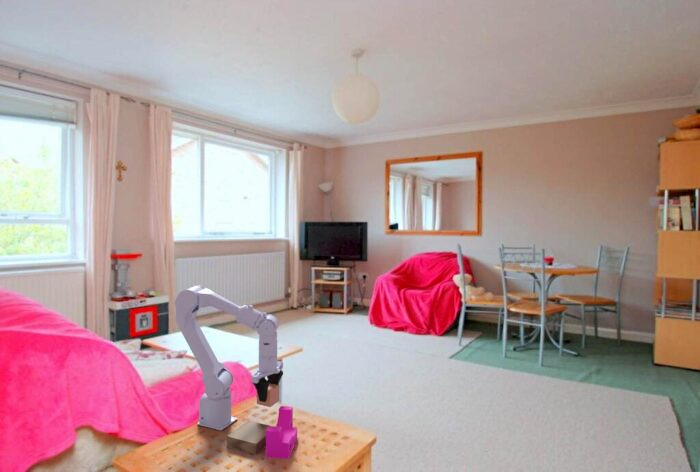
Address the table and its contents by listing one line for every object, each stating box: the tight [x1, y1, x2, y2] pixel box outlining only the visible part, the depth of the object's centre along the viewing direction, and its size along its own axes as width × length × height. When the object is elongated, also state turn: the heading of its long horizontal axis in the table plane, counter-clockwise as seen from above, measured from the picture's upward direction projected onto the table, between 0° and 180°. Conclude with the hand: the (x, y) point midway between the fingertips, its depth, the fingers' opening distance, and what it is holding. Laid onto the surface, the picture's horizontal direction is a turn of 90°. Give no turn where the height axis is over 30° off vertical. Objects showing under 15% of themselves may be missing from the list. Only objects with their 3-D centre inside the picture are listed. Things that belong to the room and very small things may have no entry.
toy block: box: [265, 405, 298, 460], centre depth 119 cm, size 15×6×8 cm, turn 174°
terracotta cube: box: [256, 383, 280, 408], centre depth 131 cm, size 5×5×5 cm
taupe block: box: [226, 420, 271, 455], centre depth 120 cm, size 10×10×3 cm
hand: (267, 397), depth 131 cm, fingers closed on terracotta cube, 5 cm apart
